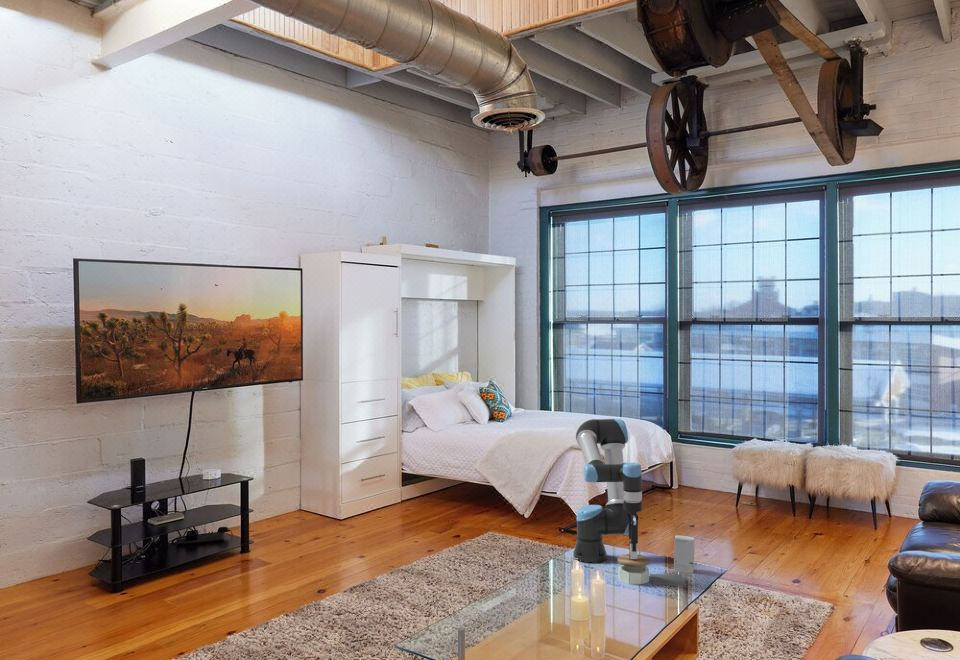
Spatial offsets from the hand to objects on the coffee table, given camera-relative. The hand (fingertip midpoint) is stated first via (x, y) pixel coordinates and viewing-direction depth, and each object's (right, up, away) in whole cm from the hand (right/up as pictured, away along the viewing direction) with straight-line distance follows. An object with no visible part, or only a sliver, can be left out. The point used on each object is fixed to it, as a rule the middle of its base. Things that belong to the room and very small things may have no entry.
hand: (633, 557), depth 298 cm
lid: (0, -2, 0) cm, 2 cm away
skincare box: (+24, -10, +10) cm, 28 cm away
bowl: (0, -10, 0) cm, 10 cm away
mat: (+14, -10, -1) cm, 17 cm away
